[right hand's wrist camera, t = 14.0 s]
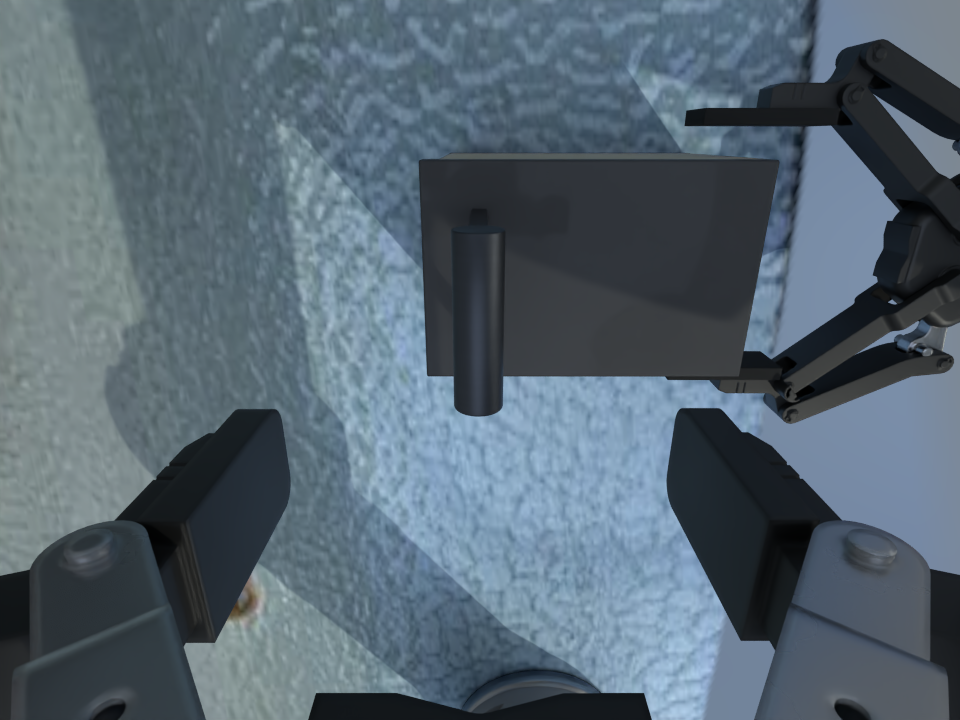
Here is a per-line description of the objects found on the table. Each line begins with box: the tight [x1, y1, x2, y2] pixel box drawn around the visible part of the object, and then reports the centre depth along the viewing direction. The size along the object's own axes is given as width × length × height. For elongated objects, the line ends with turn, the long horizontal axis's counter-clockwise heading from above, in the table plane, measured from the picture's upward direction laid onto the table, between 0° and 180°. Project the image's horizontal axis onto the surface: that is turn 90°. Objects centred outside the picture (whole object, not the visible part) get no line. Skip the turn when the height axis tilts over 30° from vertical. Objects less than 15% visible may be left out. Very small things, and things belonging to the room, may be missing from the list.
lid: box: [419, 159, 779, 416], centre depth 23 cm, size 16×10×9 cm, turn 90°
